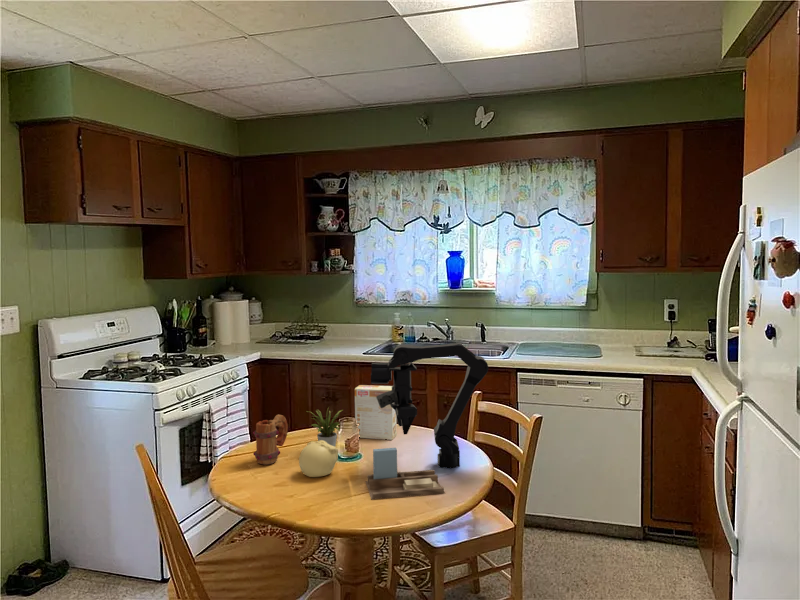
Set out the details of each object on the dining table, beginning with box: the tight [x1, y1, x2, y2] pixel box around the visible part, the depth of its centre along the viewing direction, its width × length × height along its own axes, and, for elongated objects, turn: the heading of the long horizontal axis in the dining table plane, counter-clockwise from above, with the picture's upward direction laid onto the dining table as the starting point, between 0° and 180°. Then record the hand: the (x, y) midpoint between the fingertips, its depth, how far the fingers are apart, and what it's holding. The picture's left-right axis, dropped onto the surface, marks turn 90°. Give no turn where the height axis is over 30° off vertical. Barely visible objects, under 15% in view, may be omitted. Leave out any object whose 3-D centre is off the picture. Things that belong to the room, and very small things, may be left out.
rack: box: [364, 469, 446, 500], centre depth 184 cm, size 22×14×4 cm, turn 100°
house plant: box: [307, 406, 344, 447], centre depth 219 cm, size 14×14×16 cm
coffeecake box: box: [354, 384, 398, 441], centre depth 236 cm, size 15×7×20 cm, turn 77°
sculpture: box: [298, 440, 339, 478], centre depth 198 cm, size 11×12×11 cm
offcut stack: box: [403, 478, 439, 490], centre depth 182 cm, size 10×4×2 cm, turn 100°
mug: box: [252, 414, 289, 466], centre depth 211 cm, size 15×8×15 cm, turn 148°
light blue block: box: [372, 447, 398, 479], centre depth 186 cm, size 7×2×11 cm, turn 100°
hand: (402, 430), depth 201 cm, fingers open, 9 cm apart
